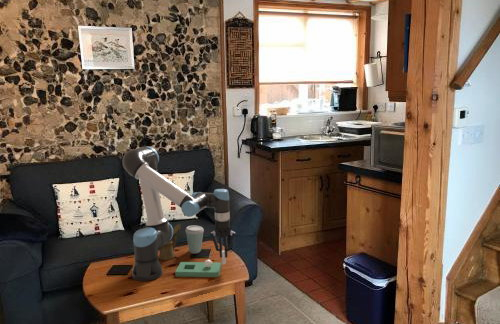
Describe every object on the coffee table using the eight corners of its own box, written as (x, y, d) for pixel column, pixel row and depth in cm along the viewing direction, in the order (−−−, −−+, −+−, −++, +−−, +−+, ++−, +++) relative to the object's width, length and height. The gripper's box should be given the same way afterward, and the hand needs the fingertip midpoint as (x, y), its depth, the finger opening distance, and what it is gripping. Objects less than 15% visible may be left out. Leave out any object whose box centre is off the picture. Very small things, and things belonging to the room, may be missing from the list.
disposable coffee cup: (198, 246, 248) (197, 222, 246) (208, 251, 240) (207, 227, 237) (182, 251, 241) (181, 226, 239) (192, 256, 233) (191, 231, 231)
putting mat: (175, 276, 209) (175, 271, 209) (180, 266, 221) (180, 262, 220) (218, 277, 208) (218, 272, 207) (221, 266, 220) (221, 262, 219)
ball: (203, 268, 212) (203, 261, 211) (205, 265, 216) (204, 258, 215) (211, 268, 211) (211, 261, 211) (212, 265, 215) (212, 258, 215)
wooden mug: (184, 256, 235) (183, 225, 231) (162, 261, 227) (160, 230, 224) (178, 251, 242) (177, 221, 239) (156, 256, 235) (154, 226, 232)
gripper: (208, 221, 205) (210, 266, 209) (234, 221, 204) (235, 266, 208) (210, 217, 213) (212, 260, 217) (235, 217, 212) (237, 260, 216)
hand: (224, 263), depth 213 cm, fingers closed
